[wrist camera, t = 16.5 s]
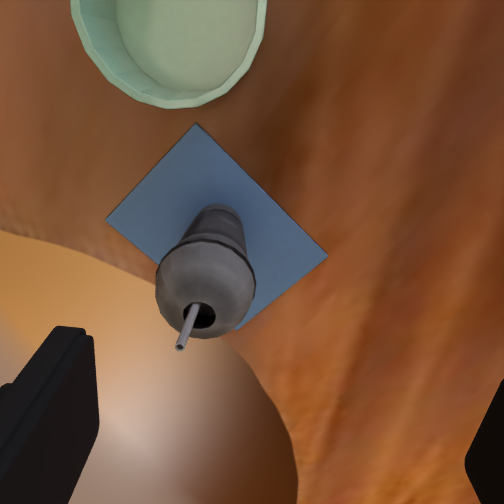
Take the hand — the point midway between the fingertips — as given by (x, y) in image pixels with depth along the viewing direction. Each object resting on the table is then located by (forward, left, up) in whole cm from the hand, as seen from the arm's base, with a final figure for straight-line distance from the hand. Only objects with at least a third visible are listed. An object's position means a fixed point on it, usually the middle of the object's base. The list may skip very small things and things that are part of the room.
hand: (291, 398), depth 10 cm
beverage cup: (-3, +9, -30) cm, 32 cm away
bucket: (+12, -2, -31) cm, 33 cm away
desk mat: (-4, +10, -31) cm, 32 cm away
